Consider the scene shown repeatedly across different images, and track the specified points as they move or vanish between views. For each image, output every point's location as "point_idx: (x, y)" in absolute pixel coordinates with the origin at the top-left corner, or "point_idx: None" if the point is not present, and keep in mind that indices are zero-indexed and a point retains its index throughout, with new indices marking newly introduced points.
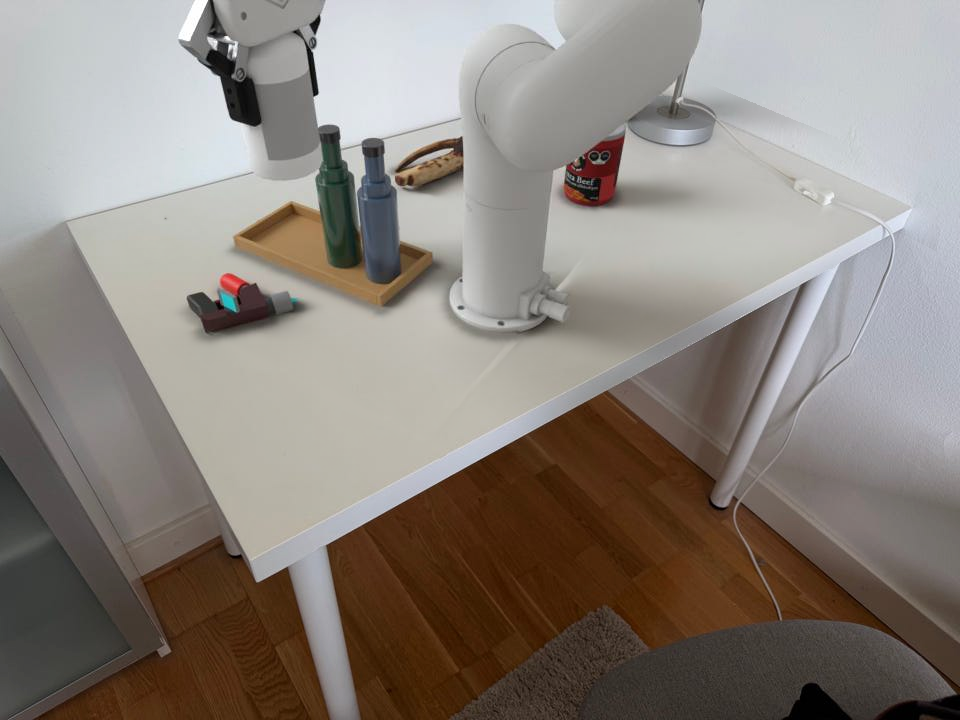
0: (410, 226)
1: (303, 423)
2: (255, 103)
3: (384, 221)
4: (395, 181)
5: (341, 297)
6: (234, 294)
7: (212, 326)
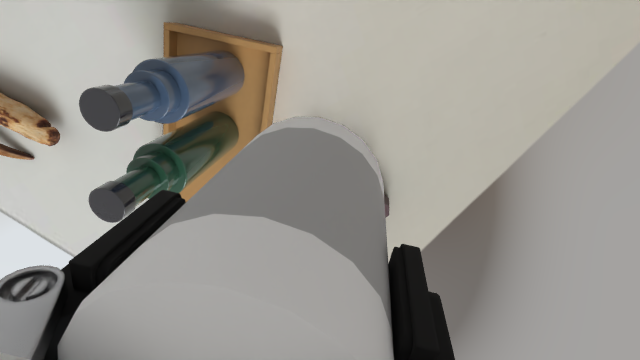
0: None
1: (493, 38)
2: (414, 283)
3: (195, 66)
4: (56, 143)
5: (280, 104)
6: None
7: (387, 201)
